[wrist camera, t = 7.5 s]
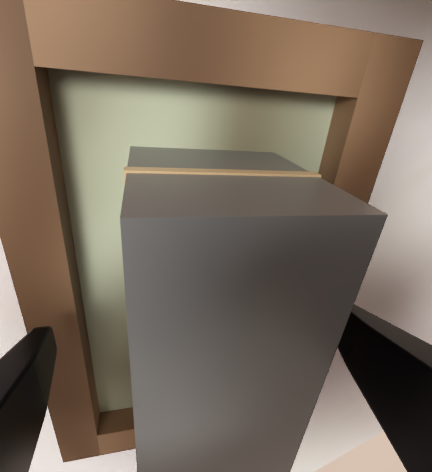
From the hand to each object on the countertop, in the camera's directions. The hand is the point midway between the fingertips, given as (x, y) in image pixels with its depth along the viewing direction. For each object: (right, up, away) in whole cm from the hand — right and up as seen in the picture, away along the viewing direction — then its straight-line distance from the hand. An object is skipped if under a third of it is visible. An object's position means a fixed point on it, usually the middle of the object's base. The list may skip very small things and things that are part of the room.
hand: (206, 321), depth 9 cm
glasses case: (0, +1, +2) cm, 2 cm away
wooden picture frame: (-1, +2, +4) cm, 4 cm away
